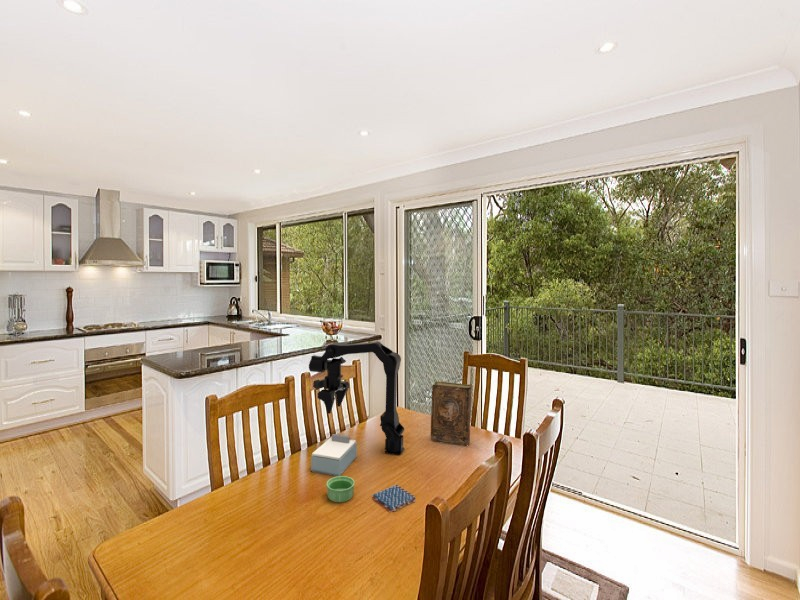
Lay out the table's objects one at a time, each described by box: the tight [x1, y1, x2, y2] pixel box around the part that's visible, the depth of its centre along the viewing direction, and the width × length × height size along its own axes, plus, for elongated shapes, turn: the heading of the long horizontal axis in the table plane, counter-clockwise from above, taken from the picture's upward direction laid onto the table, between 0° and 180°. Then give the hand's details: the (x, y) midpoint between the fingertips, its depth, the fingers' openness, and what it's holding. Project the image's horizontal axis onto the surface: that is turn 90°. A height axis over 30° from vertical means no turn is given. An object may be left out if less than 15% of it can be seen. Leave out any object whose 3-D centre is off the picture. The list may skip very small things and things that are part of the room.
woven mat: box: [371, 484, 416, 514], centre depth 127 cm, size 10×11×2 cm
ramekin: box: [326, 475, 355, 503], centre depth 129 cm, size 9×9×4 cm
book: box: [430, 381, 472, 447], centre depth 173 cm, size 16×6×25 cm, turn 73°
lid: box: [311, 433, 357, 460], centre depth 150 cm, size 16×11×3 cm
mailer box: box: [310, 442, 358, 477], centre depth 150 cm, size 16×11×6 cm
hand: (334, 409), depth 168 cm, fingers open, 9 cm apart
